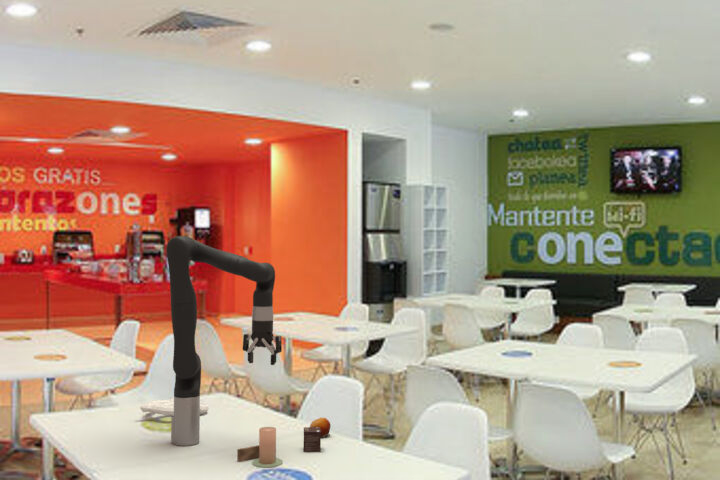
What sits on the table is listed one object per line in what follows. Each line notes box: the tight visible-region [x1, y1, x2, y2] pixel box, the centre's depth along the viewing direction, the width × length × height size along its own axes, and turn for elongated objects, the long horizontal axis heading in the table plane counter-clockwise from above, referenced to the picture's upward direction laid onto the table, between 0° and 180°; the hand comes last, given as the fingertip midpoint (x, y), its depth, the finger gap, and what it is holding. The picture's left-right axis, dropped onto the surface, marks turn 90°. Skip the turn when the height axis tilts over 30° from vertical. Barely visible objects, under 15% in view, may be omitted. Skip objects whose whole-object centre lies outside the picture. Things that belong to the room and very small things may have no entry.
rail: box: [236, 444, 259, 463], centre depth 265 cm, size 14×1×4 cm, turn 128°
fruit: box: [309, 417, 331, 438], centre depth 294 cm, size 8×8×8 cm
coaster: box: [251, 457, 283, 469], centre depth 260 cm, size 10×10×1 cm
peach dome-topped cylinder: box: [258, 426, 277, 464], centre depth 260 cm, size 6×6×11 cm
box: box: [303, 426, 322, 453], centre depth 276 cm, size 6×6×7 cm
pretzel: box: [139, 397, 210, 417], centre depth 324 cm, size 28×24×6 cm
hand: (261, 363), depth 278 cm, fingers open, 8 cm apart
